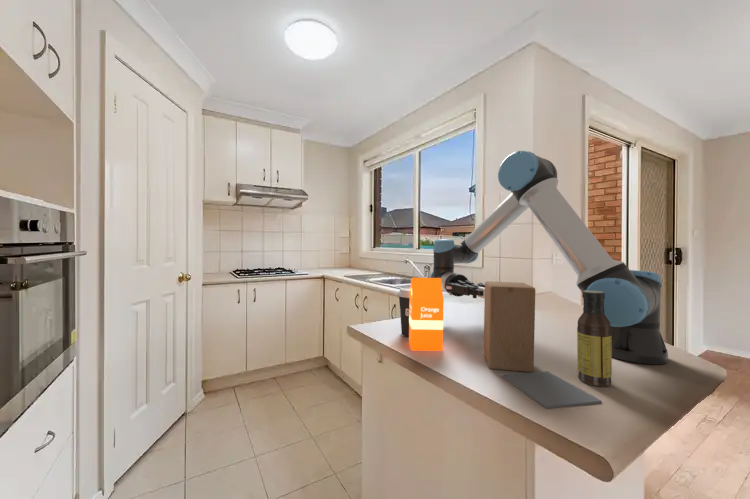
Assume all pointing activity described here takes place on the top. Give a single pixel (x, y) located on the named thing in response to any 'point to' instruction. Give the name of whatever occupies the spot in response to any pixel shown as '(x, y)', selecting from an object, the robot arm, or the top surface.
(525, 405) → the top surface
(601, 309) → the sauce bottle
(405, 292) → the coffee cup
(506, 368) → the wooden block
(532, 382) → the mat
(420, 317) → the orange juice
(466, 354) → the top surface
